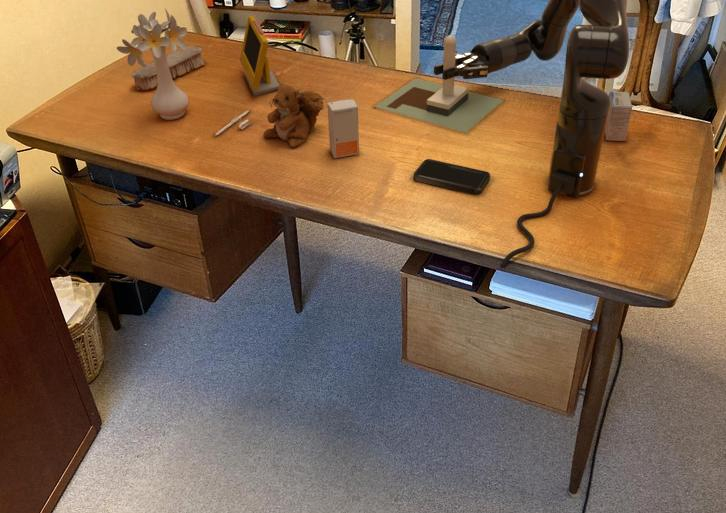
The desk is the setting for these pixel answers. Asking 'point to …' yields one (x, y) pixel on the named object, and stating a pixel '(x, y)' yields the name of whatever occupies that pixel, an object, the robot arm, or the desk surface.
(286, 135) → the stuffed squirrel
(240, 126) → the pen with cap
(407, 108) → the desk mat
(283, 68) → the desk surface
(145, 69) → the shoe brush
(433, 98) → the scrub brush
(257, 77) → the yellow framed monitor
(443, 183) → the phone
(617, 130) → the medicine box
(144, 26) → the flower vase
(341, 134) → the cosmetic box
